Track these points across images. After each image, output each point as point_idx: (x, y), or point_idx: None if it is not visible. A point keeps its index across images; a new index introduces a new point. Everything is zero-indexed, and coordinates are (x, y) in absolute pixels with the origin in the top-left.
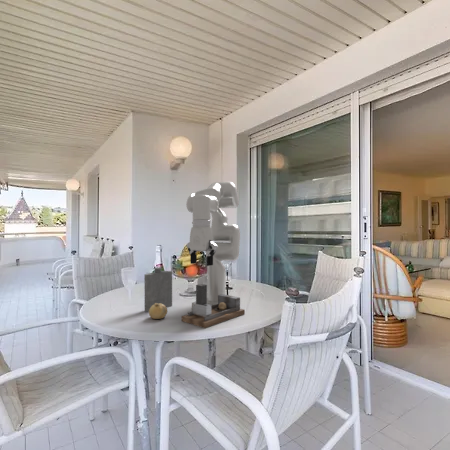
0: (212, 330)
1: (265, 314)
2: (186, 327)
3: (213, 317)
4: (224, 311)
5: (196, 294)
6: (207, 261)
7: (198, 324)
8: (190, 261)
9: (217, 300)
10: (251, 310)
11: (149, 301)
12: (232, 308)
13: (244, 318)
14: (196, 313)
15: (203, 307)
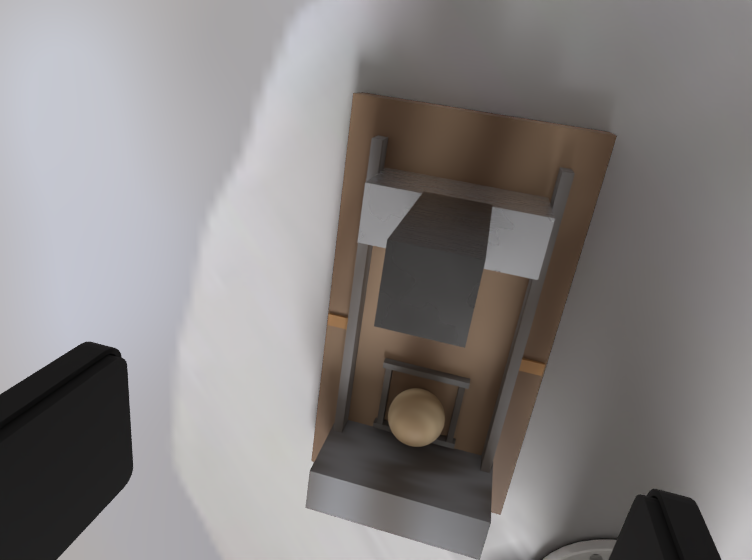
0: (296, 81)
1: (227, 472)
2: (483, 26)
3: None
4: (347, 331)
5: (483, 226)
6: (18, 388)
7: (421, 102)
8: (712, 540)
9: None
10: None
11: None
12: (339, 407)
13: (275, 371)
14: (491, 188)
15: (402, 185)
